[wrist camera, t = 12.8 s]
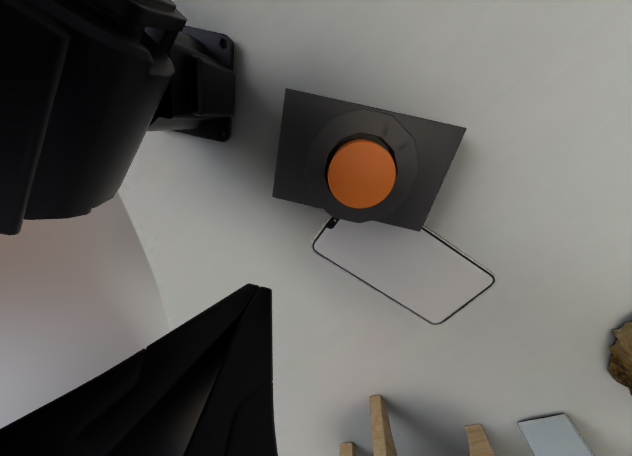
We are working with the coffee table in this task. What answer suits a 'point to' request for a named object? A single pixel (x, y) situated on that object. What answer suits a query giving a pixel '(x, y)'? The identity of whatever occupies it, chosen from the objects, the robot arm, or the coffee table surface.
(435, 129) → the button block
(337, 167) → the button
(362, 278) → the smartphone
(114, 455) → the robot arm
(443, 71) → the coffee table surface
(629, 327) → the seashell
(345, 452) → the planter
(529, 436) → the skincare box
